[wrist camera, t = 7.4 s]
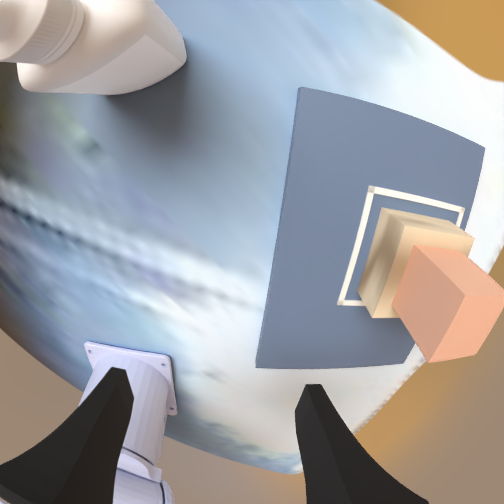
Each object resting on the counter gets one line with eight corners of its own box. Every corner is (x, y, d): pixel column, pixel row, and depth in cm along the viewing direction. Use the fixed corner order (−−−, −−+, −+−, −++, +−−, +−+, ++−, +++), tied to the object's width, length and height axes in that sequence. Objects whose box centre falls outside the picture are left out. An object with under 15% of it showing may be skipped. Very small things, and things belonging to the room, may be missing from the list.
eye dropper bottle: (174, 105, 14) (29, 99, 3) (89, 93, 13) (-80, 106, 2) (197, 35, 12) (113, -89, 1) (109, 27, 11) (-36, -30, 1)
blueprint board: (400, 357, 24) (403, 364, 23) (255, 360, 23) (256, 368, 22) (478, 145, 15) (486, 148, 14) (298, 88, 14) (301, 86, 13)
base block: (422, 293, 19) (441, 316, 17) (356, 290, 19) (372, 317, 16) (449, 220, 17) (474, 238, 14) (381, 207, 16) (404, 225, 14)
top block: (437, 304, 16) (475, 354, 12) (391, 304, 16) (427, 363, 11) (460, 250, 14) (509, 295, 10) (413, 244, 14) (465, 295, 10)
